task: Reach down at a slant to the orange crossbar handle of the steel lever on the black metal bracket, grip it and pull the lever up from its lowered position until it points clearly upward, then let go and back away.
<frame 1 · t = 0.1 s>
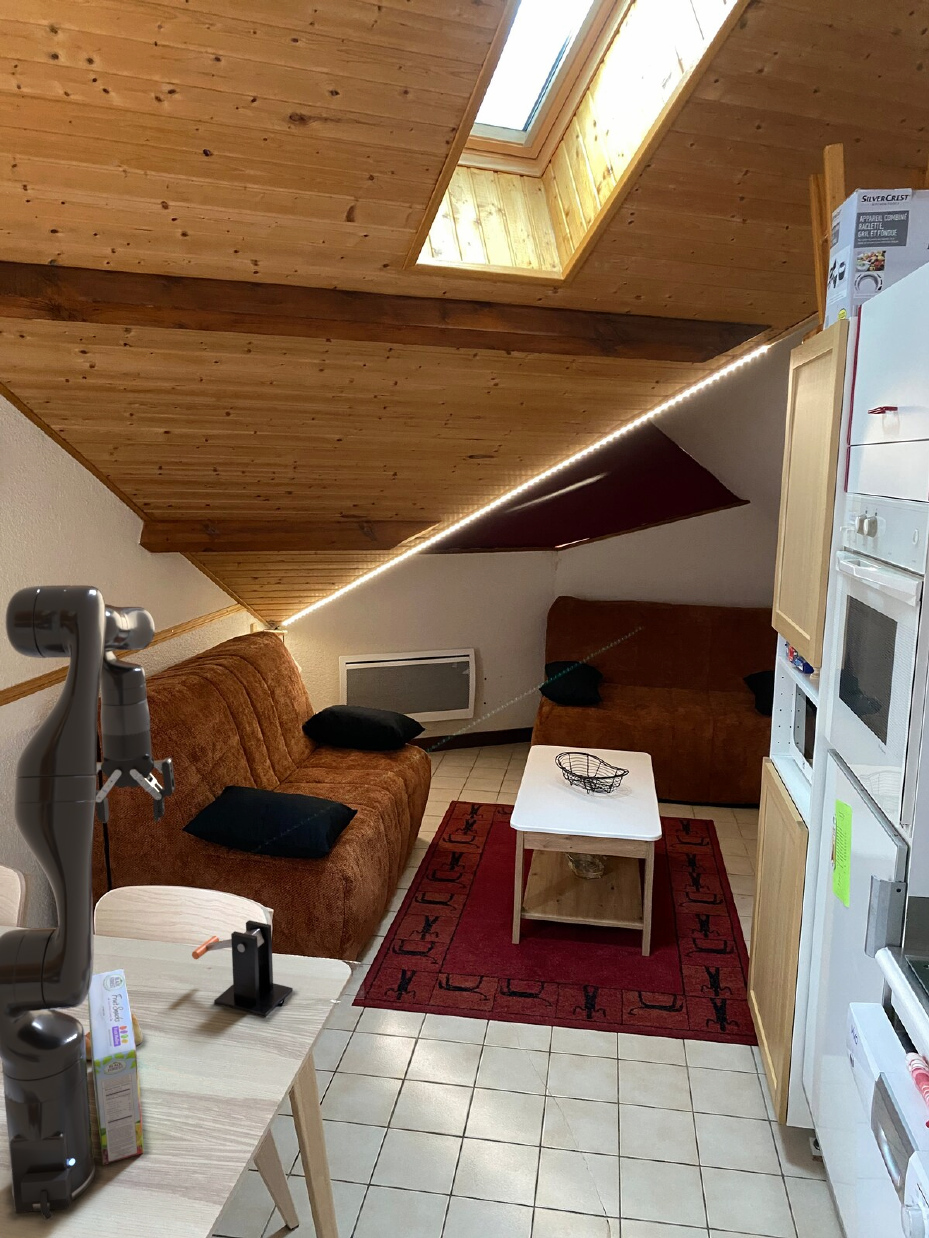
hand: (131, 820, 152), 29 cm above the table, tool pointing down, fingers open, 8 cm apart
snack box: (117, 1109, 125), on the table
bracket: (254, 1000, 151), on the table
lever: (230, 943, 151), point 9 cm above the table, hinge at -20.0°
pastry: (113, 1047, 139), on the table
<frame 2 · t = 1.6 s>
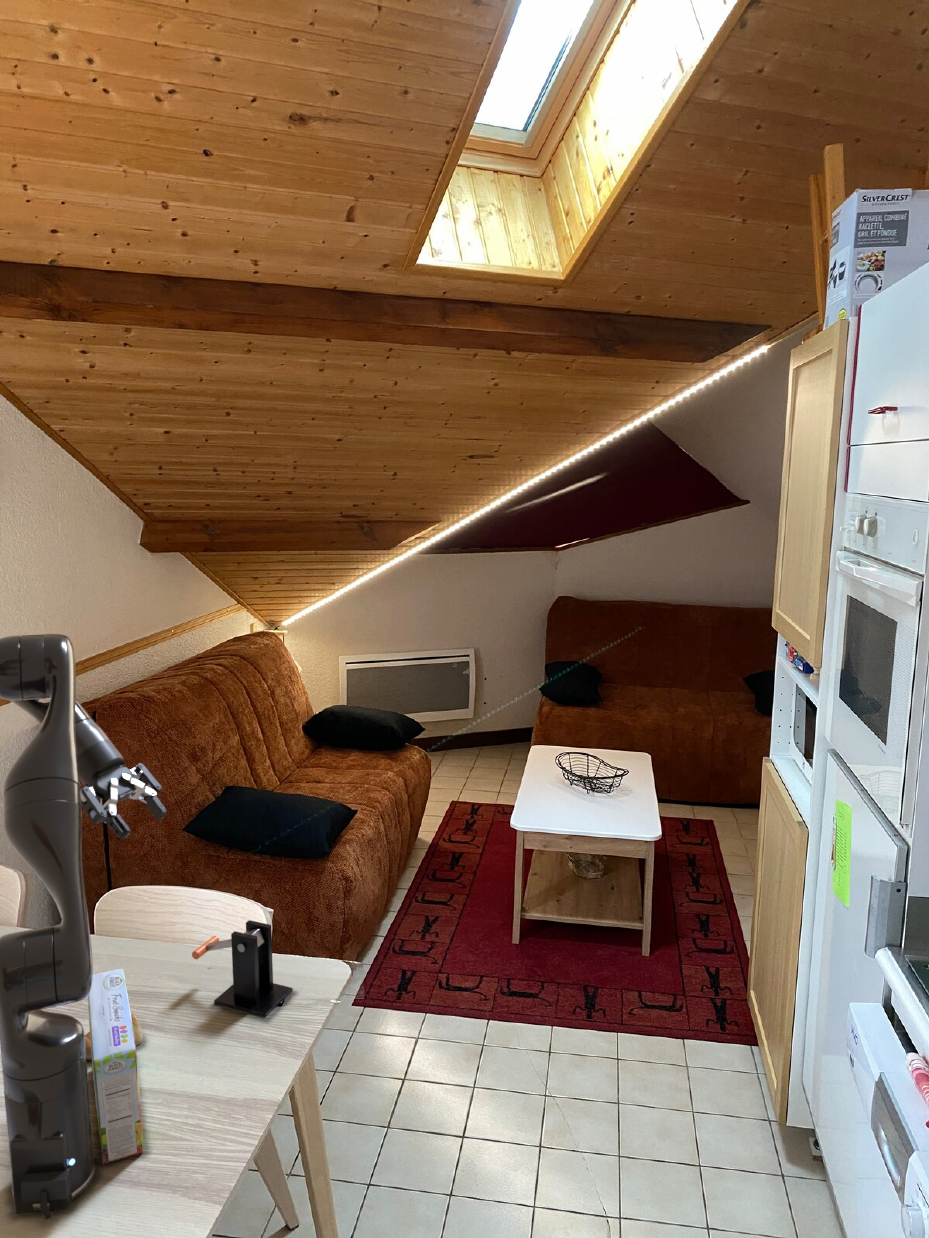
hand: (145, 826, 152), 28 cm above the table, tool tilted 45°, fingers open, 8 cm apart
nothing on the table moved.
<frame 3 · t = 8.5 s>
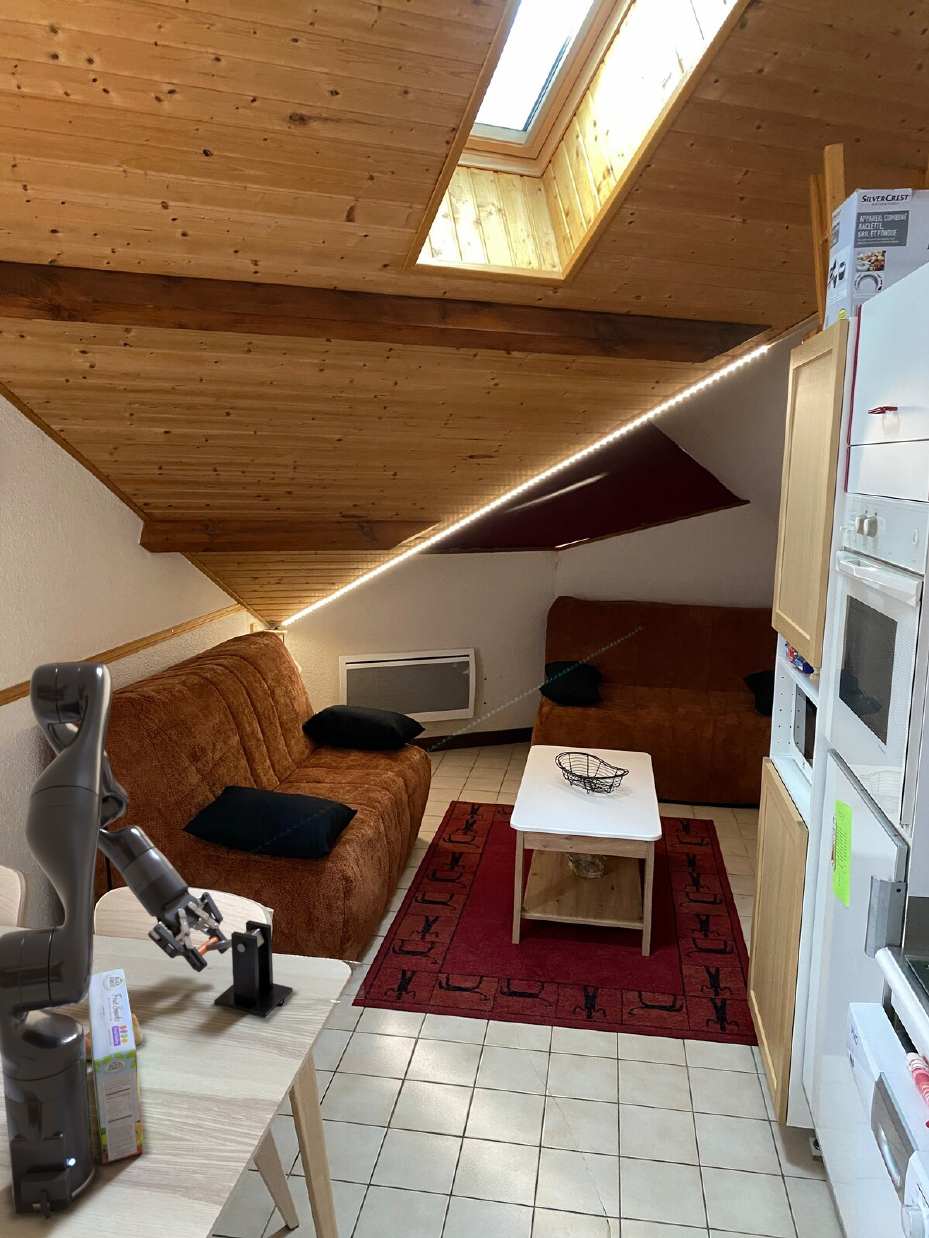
hand: (214, 959, 153), 6 cm above the table, tool tilted 45°, fingers closed on lever, 5 cm apart
lever: (230, 943, 151), point 9 cm above the table, hinge at -20.0°, touching gripper
everything else where it was.
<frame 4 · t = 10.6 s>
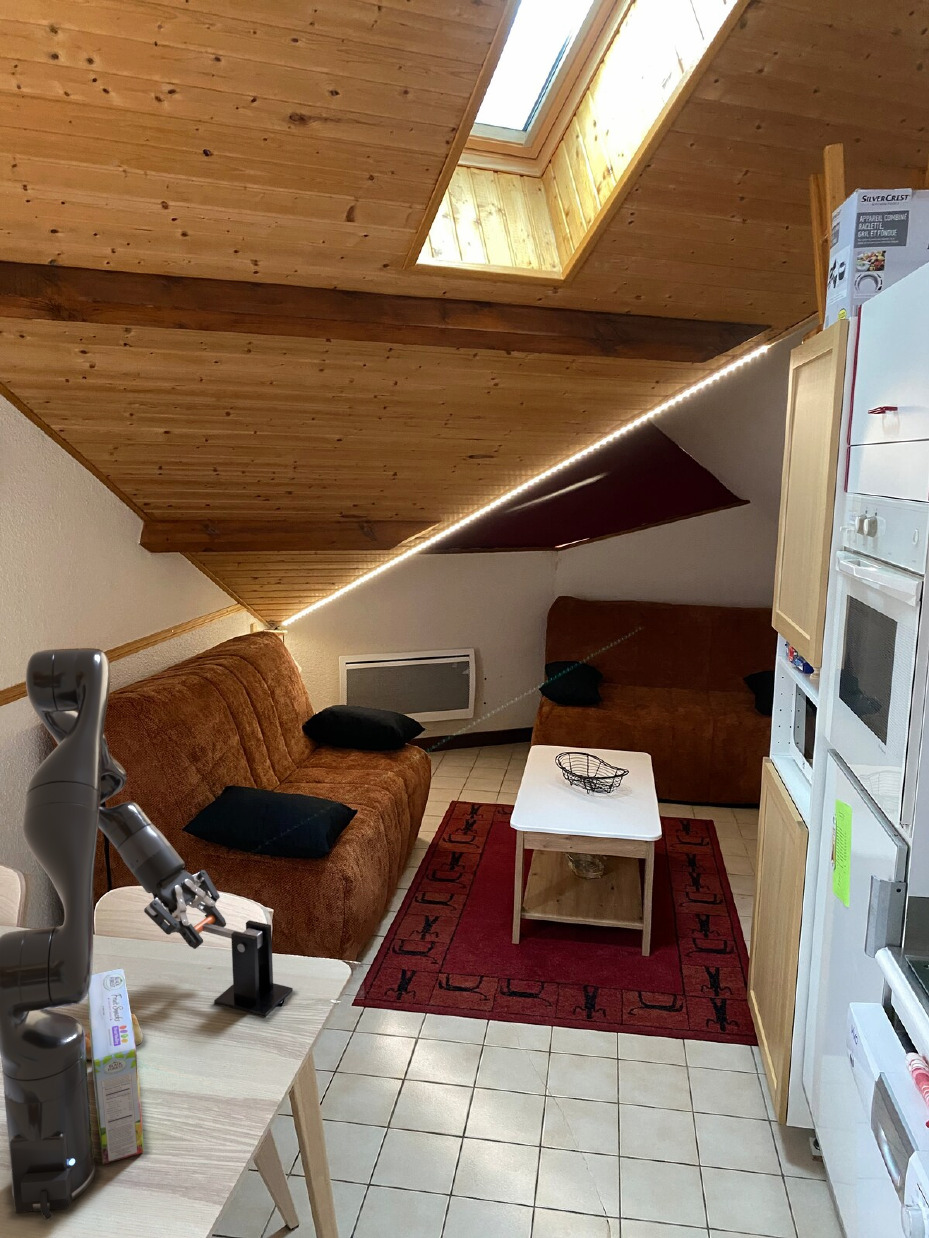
hand: (210, 936, 152), 10 cm above the table, tool tilted 45°, fingers closed on lever, 5 cm apart
lever: (228, 933, 151), point 11 cm above the table, hinge at 1.9°, touching gripper
everything else where it was.
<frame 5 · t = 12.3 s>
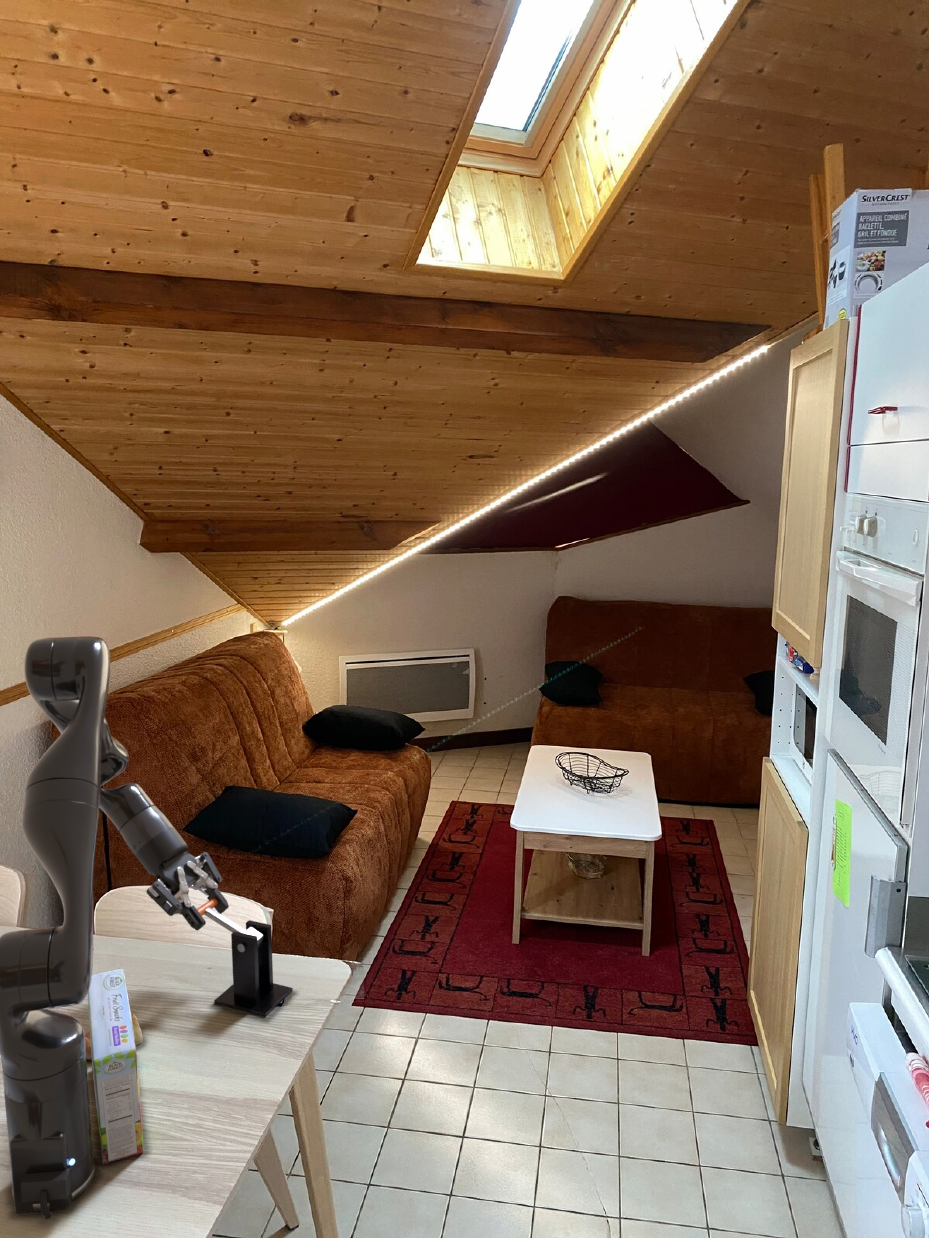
hand: (213, 918, 151), 13 cm above the table, tool tilted 45°, fingers closed on lever, 5 cm apart
lever: (229, 925, 150), point 13 cm above the table, hinge at 20.6°, touching gripper
everything else where it was.
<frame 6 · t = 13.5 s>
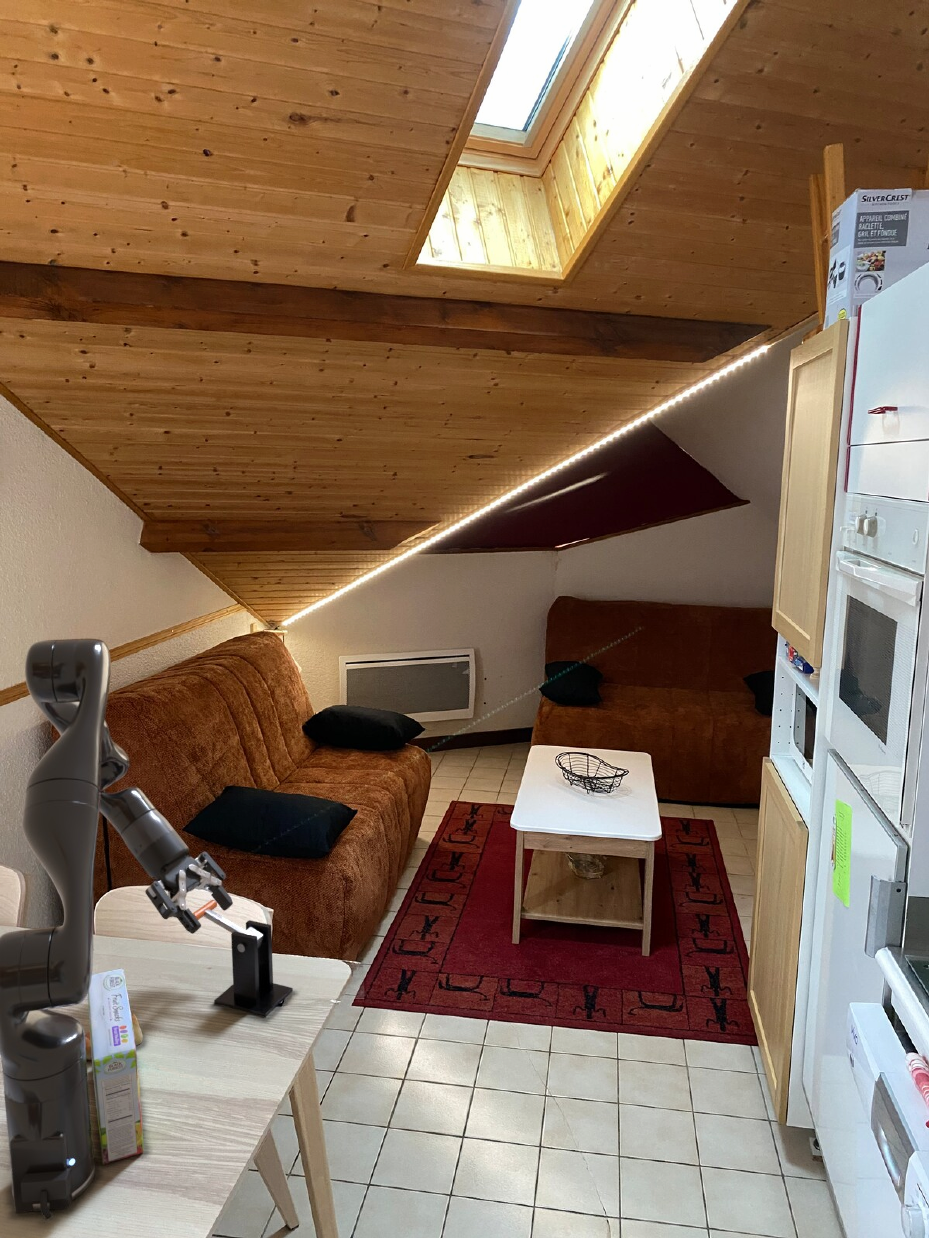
hand: (213, 918, 151), 13 cm above the table, tool tilted 45°, fingers open, 8 cm apart
lever: (229, 925, 150), point 12 cm above the table, hinge at 18.6°
everything else where it was.
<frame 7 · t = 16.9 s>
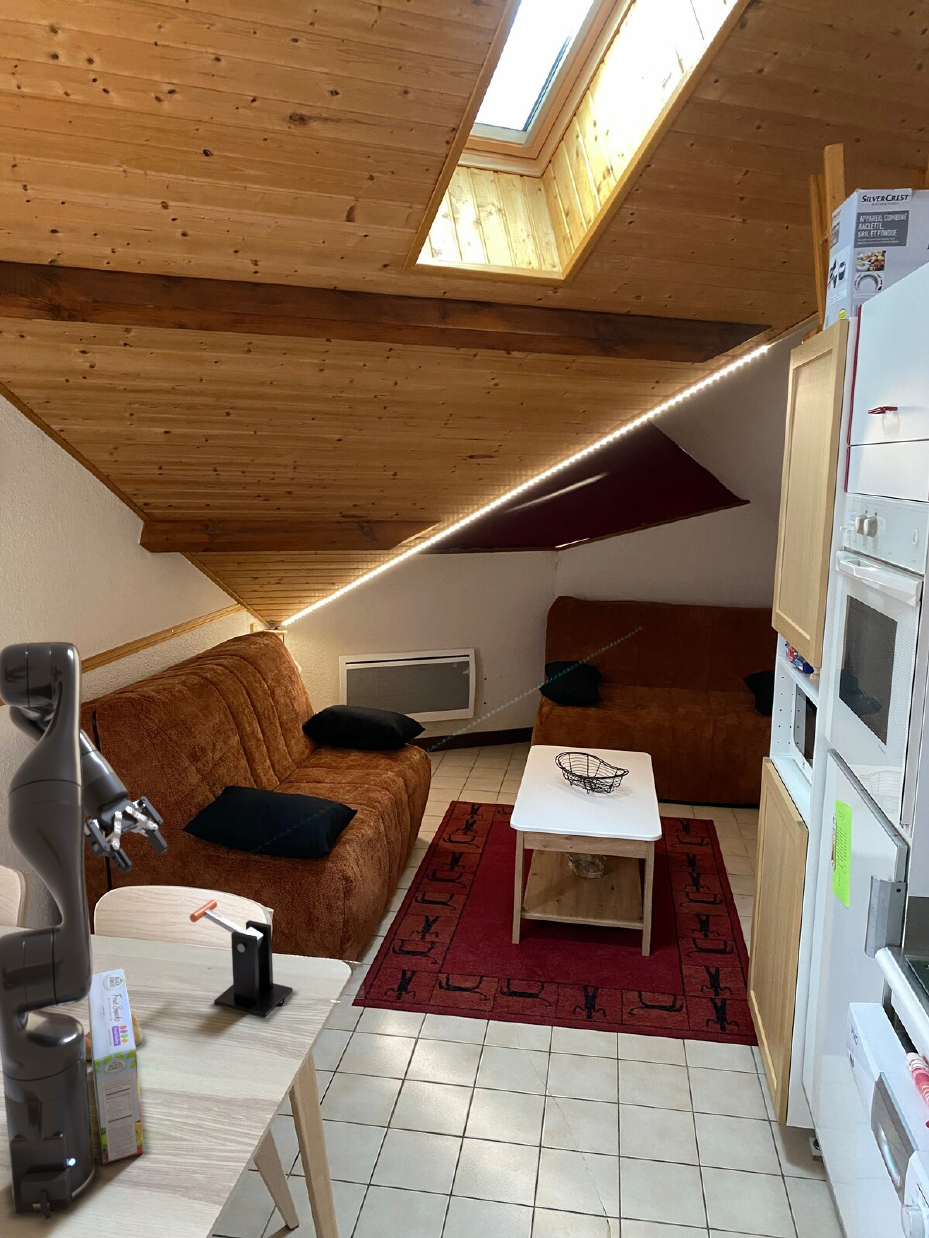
hand: (146, 860, 154), 22 cm above the table, tool tilted 40°, fingers open, 8 cm apart
nothing on the table moved.
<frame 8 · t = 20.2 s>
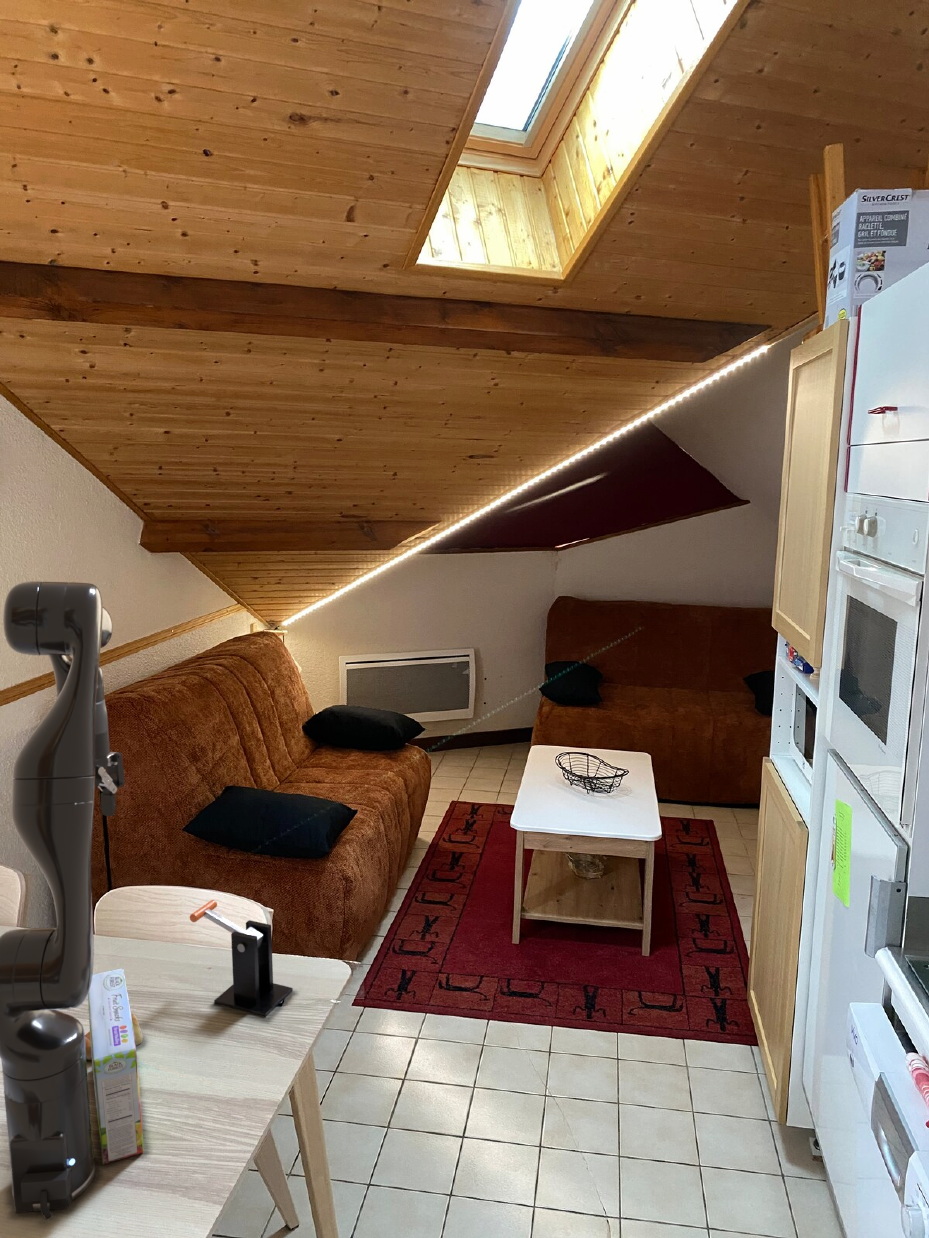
hand: (89, 823, 148), 30 cm above the table, tool pointing down, fingers open, 8 cm apart
nothing on the table moved.
at the end: lever at +19° (first picture: -20°); the gripper is holding nothing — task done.
